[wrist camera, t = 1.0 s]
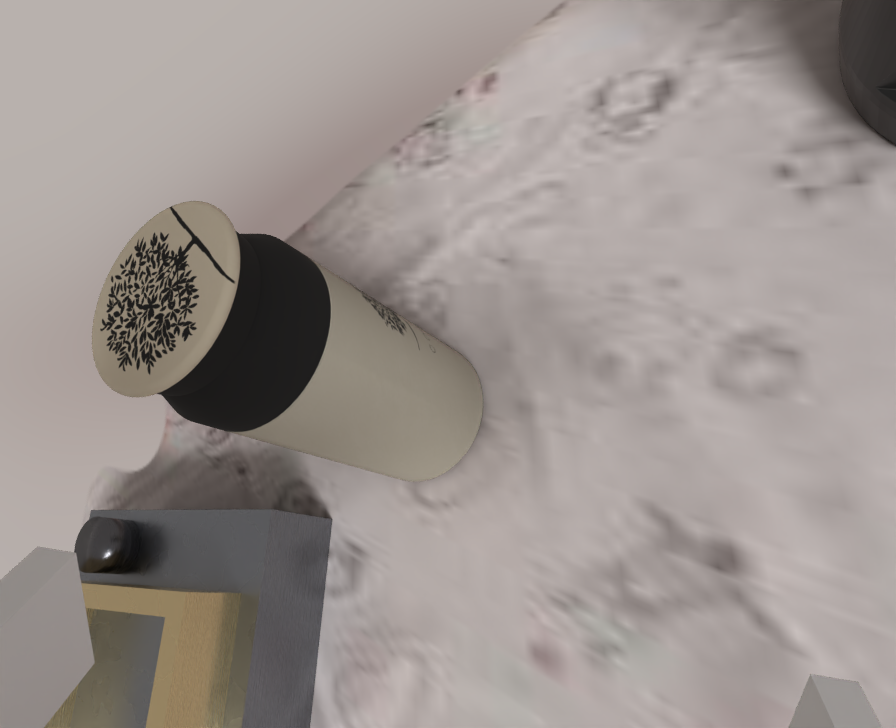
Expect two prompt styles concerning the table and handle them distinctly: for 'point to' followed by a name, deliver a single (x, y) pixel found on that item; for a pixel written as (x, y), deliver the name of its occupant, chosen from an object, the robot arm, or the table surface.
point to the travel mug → (279, 349)
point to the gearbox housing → (199, 618)
